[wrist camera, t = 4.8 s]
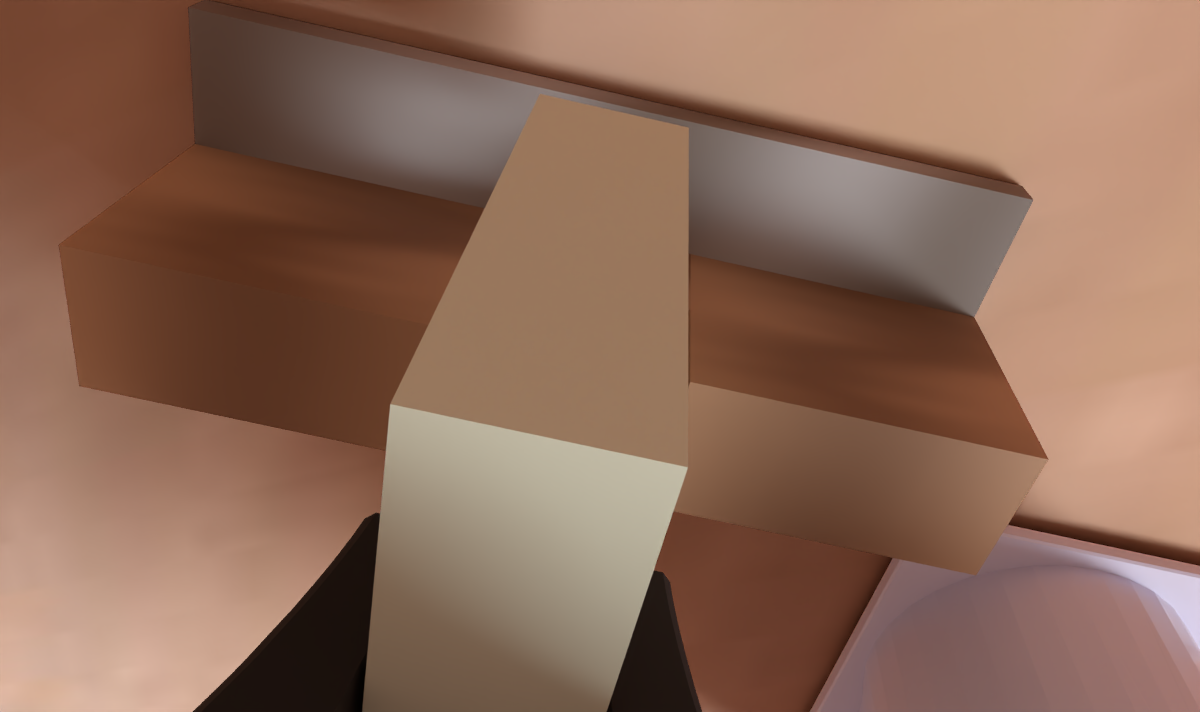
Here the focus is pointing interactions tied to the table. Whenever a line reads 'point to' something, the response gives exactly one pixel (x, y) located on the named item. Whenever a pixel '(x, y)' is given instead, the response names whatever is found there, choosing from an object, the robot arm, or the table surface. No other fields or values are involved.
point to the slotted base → (445, 225)
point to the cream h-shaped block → (540, 429)
